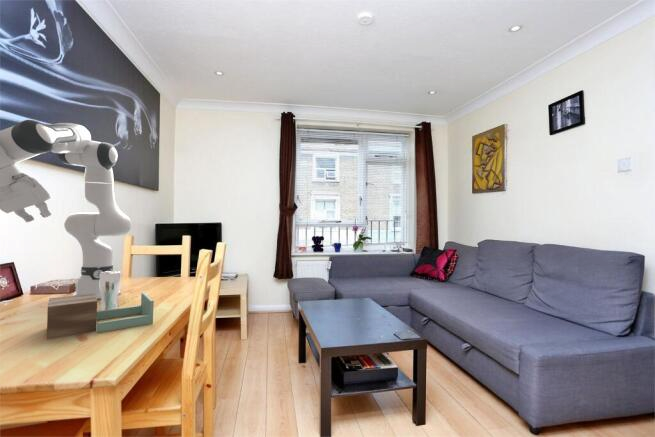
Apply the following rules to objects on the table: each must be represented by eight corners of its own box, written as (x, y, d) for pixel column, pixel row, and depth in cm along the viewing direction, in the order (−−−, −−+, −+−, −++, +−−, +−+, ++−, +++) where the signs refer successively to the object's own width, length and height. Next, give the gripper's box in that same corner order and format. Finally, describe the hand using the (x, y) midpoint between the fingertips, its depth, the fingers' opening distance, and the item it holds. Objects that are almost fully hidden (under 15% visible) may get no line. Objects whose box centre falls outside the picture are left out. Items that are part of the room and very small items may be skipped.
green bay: (92, 320, 111) (93, 297, 111) (143, 312, 122) (144, 292, 122) (96, 332, 99) (97, 307, 99) (152, 323, 110) (153, 300, 110)
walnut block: (47, 328, 102) (49, 298, 102) (93, 321, 110) (94, 293, 110) (46, 340, 93) (47, 306, 93) (96, 331, 101) (97, 300, 101)
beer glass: (108, 312, 120) (109, 274, 120) (93, 311, 122) (95, 273, 122) (123, 307, 127) (124, 271, 127) (109, 306, 128) (110, 270, 129)
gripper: (36, 167, 90) (68, 208, 96) (-1, 181, 98) (31, 218, 104) (12, 176, 85) (48, 218, 91) (-24, 190, 93) (11, 228, 98)
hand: (39, 218), depth 97 cm, fingers open, 8 cm apart
